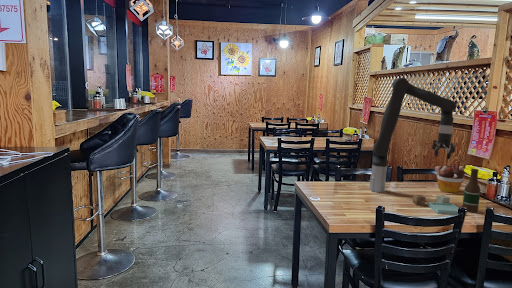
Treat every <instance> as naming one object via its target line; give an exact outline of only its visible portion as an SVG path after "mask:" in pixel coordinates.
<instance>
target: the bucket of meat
mask: <svg viewBox="0 0 512 288" xmlns="http://www.w3.org/2000/svg"><path fill="white" fill-rule="evenodd" d="M460 163H461V162H460V161H459V160H457V161H456V163H453V164H452V165H451V167H447V166H446V165H443V166H441V165H438V166H435V167H434V170H435V173H436V179H437V185H438V190H439V191H441V192H443V191H444V192H445V193H450V194H451V193H452V194H457V193H458V192H459V191H460V188H461V186H462V184H463V181H464V179H465V175H466V172H465V169H466V167H467V165H466V164H463V165H462V166H461V165H460Z"/></svg>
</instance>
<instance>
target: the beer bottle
mask: <svg viewBox="0 0 512 288" xmlns="http://www.w3.org/2000/svg"><path fill="white" fill-rule="evenodd" d="M470 171H471V172H470V175H469V181H468V183H467V184H466V185H465V187H464V190H463V198H462V199H463V200H462V207H466V208H467V212H466V213H472V214H473V213H474V214H475V213H478V211H479V205H480V199H481V198H480V197H481V187H480V185H479V181H478V177H479V176H478V175H479V169H478V168H471V169H470ZM462 207H461V208H462Z"/></svg>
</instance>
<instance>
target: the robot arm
mask: <svg viewBox="0 0 512 288" xmlns="http://www.w3.org/2000/svg"><path fill="white" fill-rule="evenodd" d="M391 87H392V91H391V96H390V99H389V101H388V103H387V105H386V108H385V110H384V114H383V116H382V119H381V124H380V131H379V136H378V138H377V141H376V142H375V143H373V146H372V157H371V158H372V161H371V162H372V163H371V175H370V176H369V190H370V191H371V192H375V193H385V191H386V180H387V168H388V153H389V151H390V146H391V141H392V138H393V137H392V136H393V134H394V132H395V129H396V126H397V123H398V121H399V117H400V113H401V110H402V105H403V102H404V97H405V96H406V95H407V96H408V95H409V96H411V97H413V98H416V99H418V100H419V101H422V102H424V103H427V104H429V105H431V106H433V107H437V108H440V121H439V123H440V124H439V127H438V132H437V133H438V134H437V139H434V140H433V142H432V147H431V148H432V150H434V152H433V153H434V157H439V153H440V152H439V151H440V149H444V150H445V151H446V152H447V153H446V160H450V159H451V156H452V154H455V152H456V143H455V142H451V141H452V136H453V125H454V116H453V112H454V111H456V109H457V103H456V102H455V101H454V100H452V99H449V98H446V97H444V96H441V95H439V94H437V93H434V92H432V91H429V90H427V89H424V88H421V87H418V86H415V85H413V84H411V83H410V82H409V80H408V78H406V77H398V78H396V79H394V80H393V81H392V84H391Z"/></svg>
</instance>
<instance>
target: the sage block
mask: <svg viewBox="0 0 512 288" xmlns="http://www.w3.org/2000/svg"><path fill="white" fill-rule="evenodd" d="M435 203H451V197H450V196H447V195H444V194H439V195H438V194H437V195H436V198H435Z"/></svg>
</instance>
